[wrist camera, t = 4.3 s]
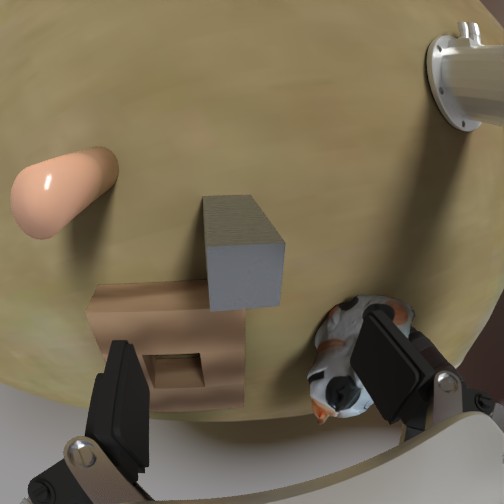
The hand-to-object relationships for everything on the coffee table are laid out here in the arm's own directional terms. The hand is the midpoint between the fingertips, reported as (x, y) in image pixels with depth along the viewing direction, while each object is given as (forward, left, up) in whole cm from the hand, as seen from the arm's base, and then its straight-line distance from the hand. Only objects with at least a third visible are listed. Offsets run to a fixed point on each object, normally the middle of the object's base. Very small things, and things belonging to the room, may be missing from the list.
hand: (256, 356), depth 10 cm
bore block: (+14, -5, -15) cm, 21 cm away
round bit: (-5, -10, -15) cm, 19 cm away
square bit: (0, +1, -15) cm, 15 cm away
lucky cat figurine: (+16, +16, -15) cm, 27 cm away
